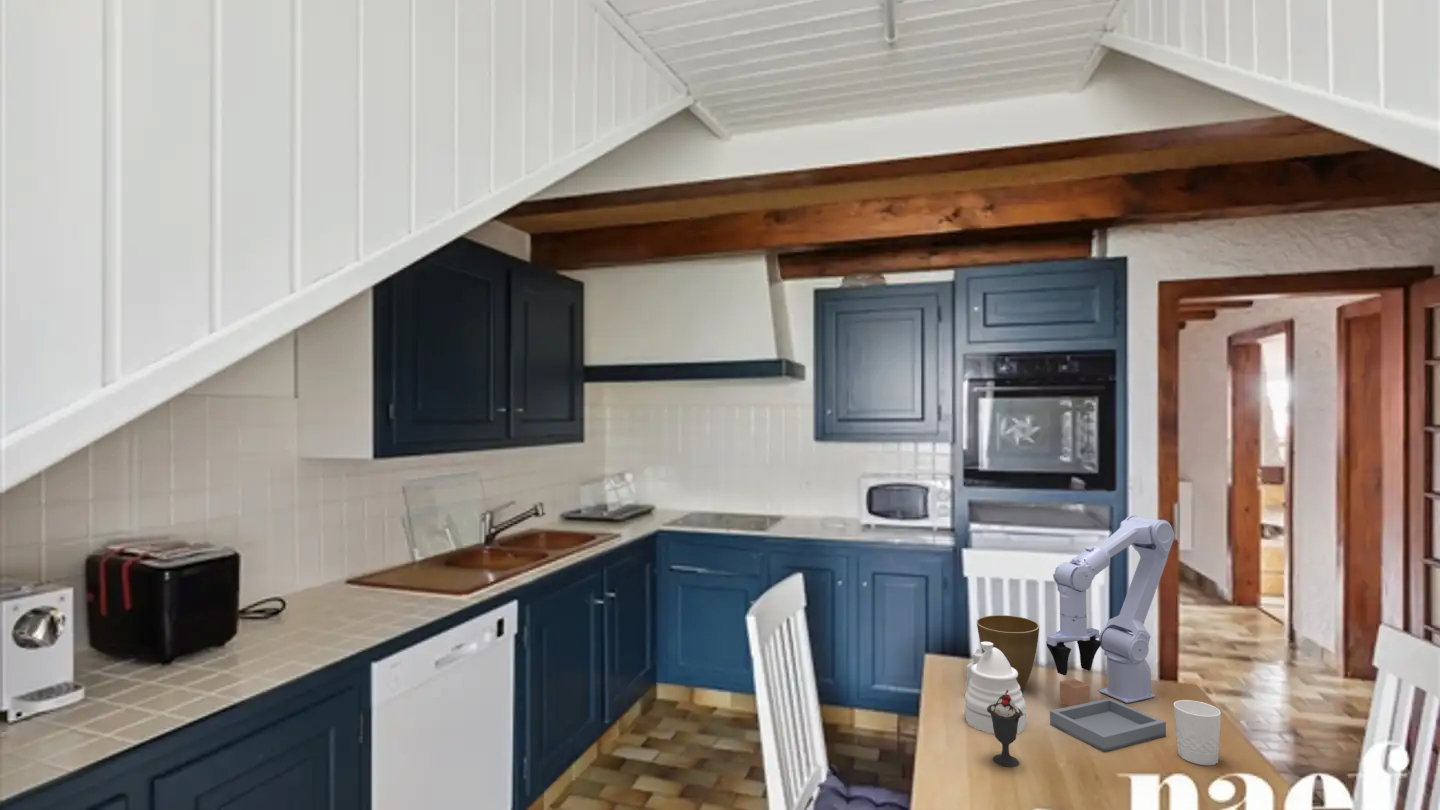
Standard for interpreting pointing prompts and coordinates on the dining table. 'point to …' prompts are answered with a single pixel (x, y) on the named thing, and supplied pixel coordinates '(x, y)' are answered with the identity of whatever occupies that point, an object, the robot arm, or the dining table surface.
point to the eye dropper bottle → (975, 660)
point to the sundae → (1005, 727)
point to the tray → (1107, 724)
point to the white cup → (1197, 731)
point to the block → (1074, 692)
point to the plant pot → (1012, 641)
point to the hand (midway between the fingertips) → (1074, 671)
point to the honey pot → (992, 689)
